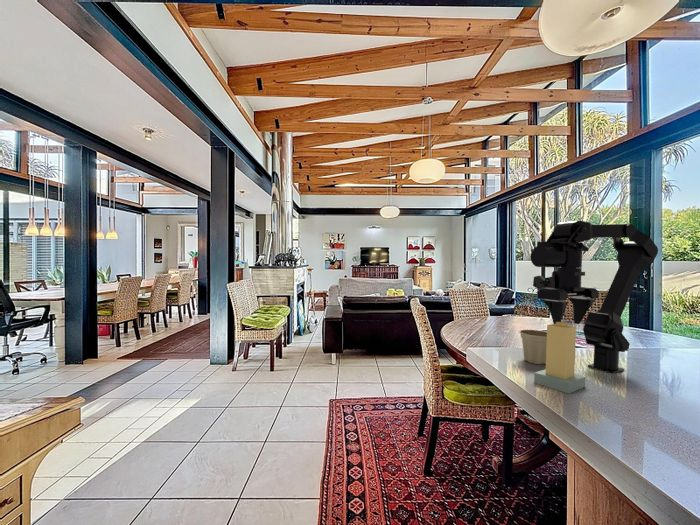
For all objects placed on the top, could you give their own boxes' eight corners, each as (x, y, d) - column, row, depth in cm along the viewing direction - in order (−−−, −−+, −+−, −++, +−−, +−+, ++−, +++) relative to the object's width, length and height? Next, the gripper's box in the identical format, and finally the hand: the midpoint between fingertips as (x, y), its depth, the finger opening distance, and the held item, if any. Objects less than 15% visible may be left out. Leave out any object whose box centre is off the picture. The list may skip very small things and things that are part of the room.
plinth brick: (551, 377, 90) (551, 367, 90) (585, 387, 84) (585, 376, 84) (534, 382, 86) (534, 372, 86) (568, 393, 79) (568, 382, 79)
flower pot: (559, 367, 99) (560, 337, 98) (523, 364, 100) (524, 335, 100) (547, 358, 108) (548, 330, 108) (514, 355, 110) (515, 328, 110)
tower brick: (555, 370, 88) (556, 320, 88) (574, 375, 84) (576, 323, 84) (545, 373, 85) (547, 321, 85) (564, 379, 82) (566, 325, 81)
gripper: (560, 266, 105) (558, 318, 106) (519, 266, 97) (517, 322, 97) (600, 268, 95) (598, 324, 96) (559, 267, 87) (557, 329, 87)
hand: (567, 325), depth 94 cm, fingers open, 9 cm apart
